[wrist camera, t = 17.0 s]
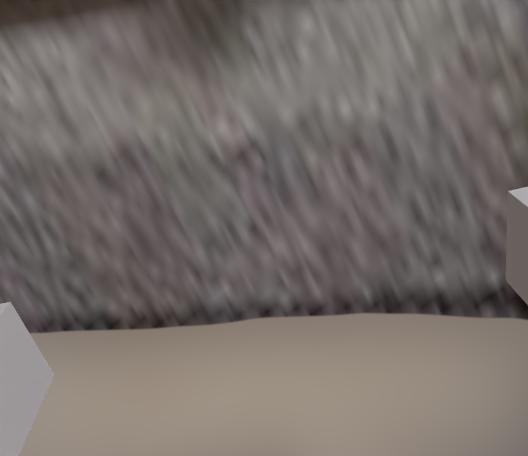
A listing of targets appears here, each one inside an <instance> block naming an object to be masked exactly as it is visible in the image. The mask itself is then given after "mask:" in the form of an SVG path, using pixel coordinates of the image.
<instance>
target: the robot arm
mask: <svg viewBox="0 0 528 456" xmlns="http://www.w3.org/2000/svg"><path fill="white" fill-rule="evenodd" d="M506 281H507V282H508V283H509V284H510V286H511V287H512V288H513V289H514V290H515V291H516V292H517V293H518V295H519V296H520V297H521V298H522V299H523V300H524V301H525V303H526V304H527V305H528V187H525V188H520V189H516V190H511V191H508V212H507V252H506ZM54 376H55V375H54V374H53V372H52V370H51V369H50V367H49V365H48V364H47V362H46V360H45V359H44V357H43V355H42V354H41V352H40V350H39V349H38V347H37V345H36V344H35V342H34V340H33V339H32V337H31V335H30V334H29V332H28V330H27V329H26V327H25V325H24V324H23V322H22V321H21V319H20V317H19V316H18V314H17V312H16V311H15V309H14V307H13V306H12V304H11V302H7V303H3V304H0V456H19V454H20V452H21V450H22V447H23V445H24V443H25V440H26V438H27V436H28V434H29V432H30V429H31V427H32V425H33V423H34V421H35V418H36V416H37V414H38V412H39V409H40V407H41V405H42V403H43V401H44V398H45V396H46V394H47V392H48V389H49V387H50V385H51V383H52V380H53V378H54Z"/></svg>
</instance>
